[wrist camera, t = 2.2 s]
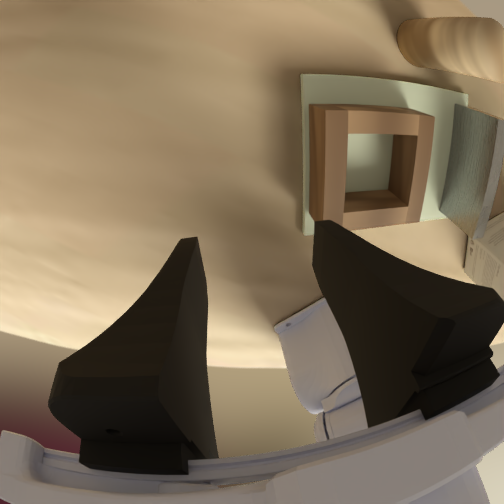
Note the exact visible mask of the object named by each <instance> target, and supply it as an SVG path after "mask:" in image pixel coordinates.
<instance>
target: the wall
mask: <svg viewBox="0 0 504 504" xmlns="http://www.w3.org/2000/svg"><path fill="white" fill-rule="evenodd" d="M503 157H504V120H503V119H501V118H498V117H496V116H493V115H491V114H488V113H485V112H482V111H480V110H477V109H474V108H471V107H468V106H465V105H460V104H455V106H454V119H453V129H452V138H451V146H450V153H449V160H448V166H447V172H446V178H445V184H444V189H443V194H442V199H441V203H440V208H439V211H440V212H441V213H443V214H444V215H445V216H446V217H447V218H449V219H450V220H451V221H452V222H453V223H454V224H456V225H457V226H458V227H459V228H460V229H461V230H462V231H464V232H465V233H466V234H467V235H468V236H469V237H470V238H471V239H472V240H473V239H478V238H483V236H484V233H485V230H486V226H487V223H488V220H489V216H490V213H491V209H492V206H493V202H494V198H495V194H496V190H497V186H498V182H499V177H500V173H501V168H502V162H503Z"/></svg>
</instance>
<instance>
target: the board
mask: <svg viewBox="0 0 504 504" xmlns="http://www.w3.org/2000/svg"><path fill="white" fill-rule="evenodd" d="M300 81H301V106H302V145H303V224H302V232H303V234H304V236H309V235H314V220H313V219H312V217H311V216H310V214H309V171H310V155H309V104H359V105H377V106H391V107H402V108H411V109H414V110H417V111H420V112H423V113H426V114H428V115H431V116H434V117H435V123H434V134H433V143H432V152H431V159H430V166H429V173H428V179H427V185H426V191H425V197H424V202H423V207H422V212H421V217H420V221H428V220H436V219H445V218H447V217H446V216H445V215H444V214H443V213H441V212H440V211H439V208H440V203H441V199H442V194H443V189H444V184H445V178H446V172H447V166H448V160H449V153H450V146H451V138H452V129H453V119H454V106H455V104H460V105H465V106H468V94H464V93H460V92H456V91H452V90H448V89H443V88H438V87H433V86H428V85H423V84H417V83H411V82H405V81H398V80H390V79H382V78H373V77H362V76H349V75H330V74H300ZM392 146H393V134H348V150H347V171H346V188H345V193H347V192H360V191H373V190H388V185H389V176H390V167H391V157H392ZM420 221H419V222H420Z"/></svg>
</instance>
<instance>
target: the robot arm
mask: <svg viewBox="0 0 504 504" xmlns="http://www.w3.org/2000/svg"><path fill="white" fill-rule="evenodd" d="M312 266H313V269H314V272H315V275H316V278H317V281H318V284H319V287H320V289H321V291H322V293H323V295H324V298H322V299H320V300H319V301H317V302H315V303H314V304H312V305H310V306H308V307H307V308H305V309H303V310H301V311H300V312H298V313H296V314H294V315H293V316H291V317H289V318H287V319H286V320H284V321H282V322H280V323H278V324H277V325H275V326H274V330H275V332H276V333H277V334H278V335H279V339H280V343H281V346H282V350H283V354H284V358H285V362H286V366H287V369H288V373H289V377H290V380H291V383H292V386H293V389H294V391H295V393H296V395H297V397H298V399H299V400H300V402H301V404H302V405H303V406H304V407H305V409H307V411H309V412H310V413H312V414H317V413H318V415H317V418H316V421H315V424H314V432H315V438H316V442H317V443H313V444H309V445H305V446H300V447H295V448H290V449H285V450H279V451H274V452H267V453H261V454H254V455H246V456H238V457H228V458H219V457H218V451H217V445H216V439H215V432H214V425H213V418H212V411H211V402H210V394H209V384H208V375H207V374H208V373H207V358H206V349H207V320H208V295H207V283H206V277H205V272H204V267H203V262H202V258H201V253H200V248H199V243H198V238H197V237H192V238H185V239H181V240H180V241H179V242H178V244H177V245H176V247H175V249H174V250H173V252H172V253H171V255H170V257H169V258H168V260H167V261H166V263H165V264H164V266H163V267H162V269H161V270H160V272H159V273H158V274H157V276H156V277H155V279H154V280H153V281H152V283H151V284H150V285H149V287H148V288H147V289H146V290H145V292H144V293H143V294H142V295H141V296H140V298H139V299H138V300H137V301H136V302H135V303H134V304H133V305H132V306H131V307H130V308H129V309H128V310H127V311H126V312H125V313H124V314H123V315H122V316H121V317H120V318H119V319H118V320H117V321H115V322H114V323H113V324H112V325H111V326H110V327H109V328H108V329H106V330H105V331H104V332H103V333H102V334H100V335H99V336H98V337H96V338H95V339H94V340H93V341H91V342H90V343H89V344H87V345H86V346H84V347H83V348H81V349H80V350H78V351H77V352H75V353H74V354H72V355H71V356H69V357H68V358H66V359H64V360H63V361H61V362H60V363H59V365H58V368H57V372H56V375H55V378H54V382H53V385H52V389H51V393H50V397H49V401H48V407H49V409H50V411H51V413H52V414H53V416H54V417H55V418H56V419H57V420H58V421H59V422H61V423H62V424H63V425H64V426H65V427H67V428H68V429H69V430H71V431H72V432H73V433H74V434H76V435H77V436H78V437H80V438H81V445H80V454H74V453H68V452H62V451H57V450H52V449H47V448H43V446H42V445H40V444H39V443H38V442H36V441H35V440H33V439H31V438H29V437H26V436H24V435H20V434H16V433H13V432H9V431H4V430H3V431H2V434H1V438H0V498H1V499H3V500H5V501H7V502H9V503H11V504H490V502H489V499H488V496H487V494H486V491H485V488H484V485H483V483H482V480H481V478H480V475H479V473H478V470H477V468H476V465H477V464H478V463H479V462H480V461H481V460H482V458H483V456H485V455H486V454H487V453H489V452H490V451H492V450H493V449H494V448H496V447H497V446H498V445H500V444H501V443H502V442H503V441H504V365H503V366H501V367H500V368H498V369H496V367H495V366H494V364H493V362H492V361H491V359H490V358H491V357H492V356H493V351H492V350H491V348H490V347H489V345H490V344H491V342H492V341H493V339H494V338H495V336H496V335H497V333H498V331H499V330H500V328H501V327H502V325H503V323H504V300H503V299H502V298H501V297H500V296H499V294H498V293H497V292H496V291H495V290H494V289H493V288H490V287H485V286H480V285H475V284H470V283H465V282H461V281H458V280H454V279H450V278H447V277H444V276H441V275H438V274H435V273H432V272H430V271H427V270H424V269H421V268H419V267H417V266H414V265H412V264H410V263H407V262H405V261H403V260H401V259H399V258H397V257H395V256H393V255H391V254H389V253H387V252H385V251H383V250H381V249H380V248H378V247H376V246H374V245H373V244H371V243H369V242H367V241H366V240H364V239H362V238H361V237H359V236H357V235H356V234H354V233H352V232H351V231H349V230H348V229H346V228H344V227H343V226H341V225H339V224H337V223H336V222H334V221H332V220H322V221H314V244H313V262H312ZM287 323H288V324H287ZM269 479H270V480H269ZM263 480H266V481H263ZM255 481H261V482H256V483H251V484H245V485H239V486H233V487H226V488H219V487H217V486H216V485H227V484H238V483H247V482H255Z"/></svg>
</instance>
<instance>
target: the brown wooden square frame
mask: <svg viewBox="0 0 504 504" xmlns="http://www.w3.org/2000/svg"><path fill="white" fill-rule="evenodd" d="M434 123H435V117H434V116H431V115H428V114H426V113H423V112H420V111H417V110H414V109H411V108H402V107H391V106H377V105H359V104H309V155H310V171H309V214H310V216H311V217H312V219H313V220H314V221H322V220H332V221H334V222H336V223H337V224H339V225H341V226H343V227H344V228H346V229H348V230H349V231H351V230H359V229H367V228H375V227H383V226H391V225H399V224H407V223H415V222H419V221H420V217H421V212H422V207H423V202H424V197H425V191H426V185H427V179H428V173H429V166H430V159H431V152H432V143H433V134H434ZM348 134H393V146H392V157H391V167H390V176H389V185H388V190H373V191H360V192H347V193H345V188H346V171H347V150H348Z"/></svg>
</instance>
